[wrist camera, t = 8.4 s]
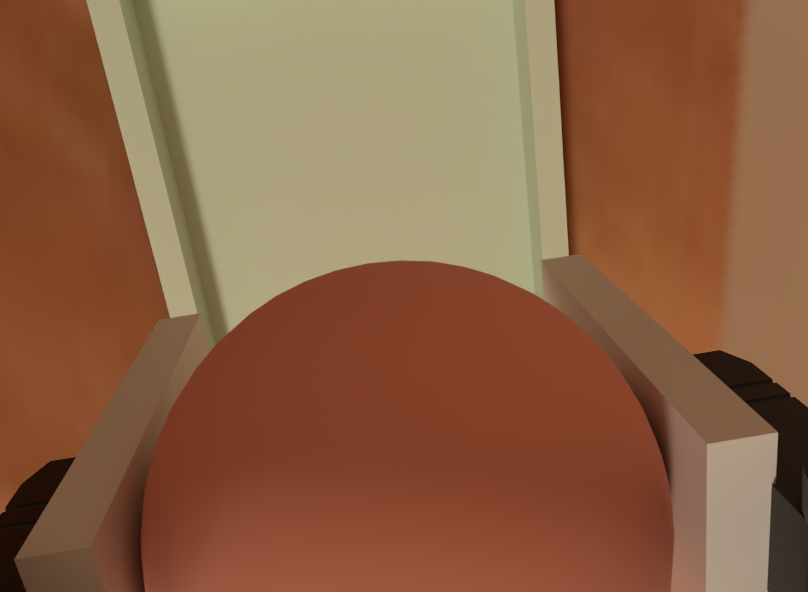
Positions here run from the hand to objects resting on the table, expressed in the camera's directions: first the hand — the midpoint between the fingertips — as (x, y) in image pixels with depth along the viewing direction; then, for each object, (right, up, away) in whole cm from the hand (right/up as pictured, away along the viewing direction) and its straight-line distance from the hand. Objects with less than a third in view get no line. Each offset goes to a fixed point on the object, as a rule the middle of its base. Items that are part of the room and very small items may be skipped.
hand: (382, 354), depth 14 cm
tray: (-1, +4, +10) cm, 10 cm away
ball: (0, -2, -5) cm, 5 cm away
